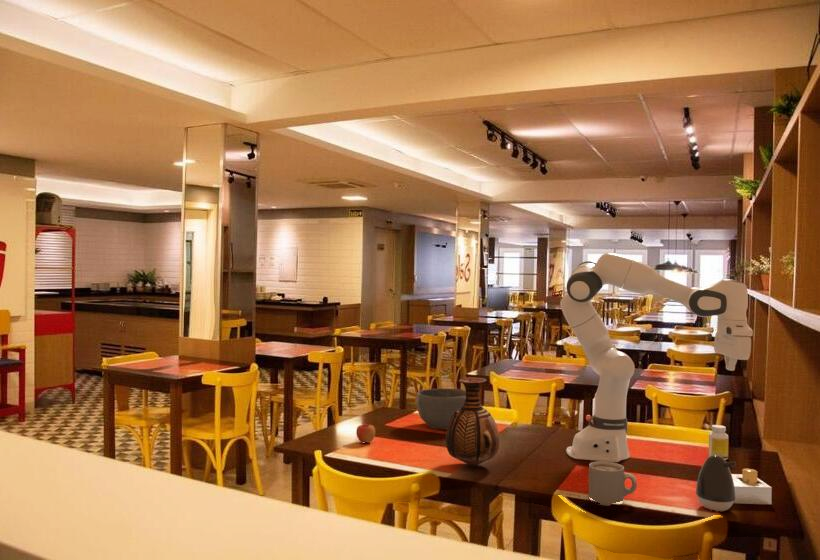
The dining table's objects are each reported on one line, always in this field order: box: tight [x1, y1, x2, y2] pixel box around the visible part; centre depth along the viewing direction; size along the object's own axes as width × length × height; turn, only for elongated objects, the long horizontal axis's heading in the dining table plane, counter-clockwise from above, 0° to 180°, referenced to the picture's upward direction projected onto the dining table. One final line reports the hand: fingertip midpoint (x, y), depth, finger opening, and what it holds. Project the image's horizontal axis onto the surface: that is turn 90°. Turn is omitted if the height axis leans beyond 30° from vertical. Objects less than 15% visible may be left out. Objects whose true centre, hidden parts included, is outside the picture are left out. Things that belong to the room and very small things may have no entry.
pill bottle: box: [708, 424, 729, 461], centre depth 241 cm, size 6×6×12 cm
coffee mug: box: [588, 461, 638, 507], centre depth 195 cm, size 13×10×10 cm
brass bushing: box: [741, 468, 758, 484], centre depth 199 cm, size 4×4×8 cm
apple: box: [356, 422, 376, 443], centre depth 256 cm, size 7×7×8 cm
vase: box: [445, 377, 500, 468], centre depth 227 cm, size 21×18×30 cm
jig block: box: [731, 473, 773, 505], centre depth 199 cm, size 14×12×5 cm
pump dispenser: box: [695, 455, 737, 512], centre depth 189 cm, size 10×10×15 cm
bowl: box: [415, 387, 466, 430], centre depth 283 cm, size 24×24×15 cm
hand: (730, 370), depth 219 cm, fingers closed
